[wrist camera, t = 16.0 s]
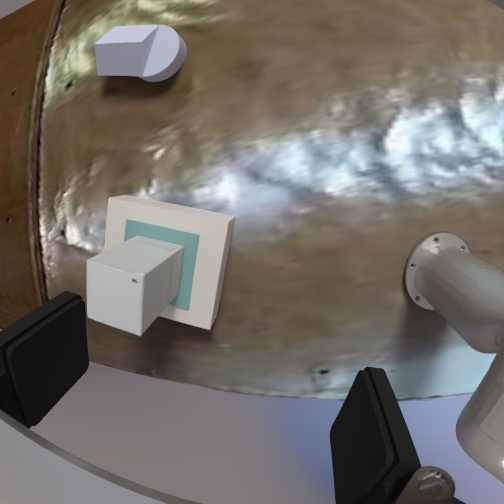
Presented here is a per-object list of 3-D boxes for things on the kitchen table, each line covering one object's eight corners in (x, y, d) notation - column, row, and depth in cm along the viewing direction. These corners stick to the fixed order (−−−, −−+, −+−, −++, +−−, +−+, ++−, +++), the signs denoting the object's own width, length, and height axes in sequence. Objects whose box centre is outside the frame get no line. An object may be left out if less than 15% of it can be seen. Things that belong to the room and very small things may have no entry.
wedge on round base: (108, 80, 42) (177, 84, 41) (86, 70, 35) (160, 71, 34) (123, 33, 39) (193, 33, 38) (103, 19, 33) (179, 15, 32)
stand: (235, 216, 45) (228, 222, 40) (217, 315, 49) (209, 330, 44) (125, 194, 46) (107, 197, 41) (117, 287, 50) (101, 299, 45)
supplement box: (137, 233, 42) (85, 256, 29) (185, 245, 41) (146, 274, 29) (132, 282, 43) (85, 318, 31) (178, 295, 43) (141, 338, 31)
